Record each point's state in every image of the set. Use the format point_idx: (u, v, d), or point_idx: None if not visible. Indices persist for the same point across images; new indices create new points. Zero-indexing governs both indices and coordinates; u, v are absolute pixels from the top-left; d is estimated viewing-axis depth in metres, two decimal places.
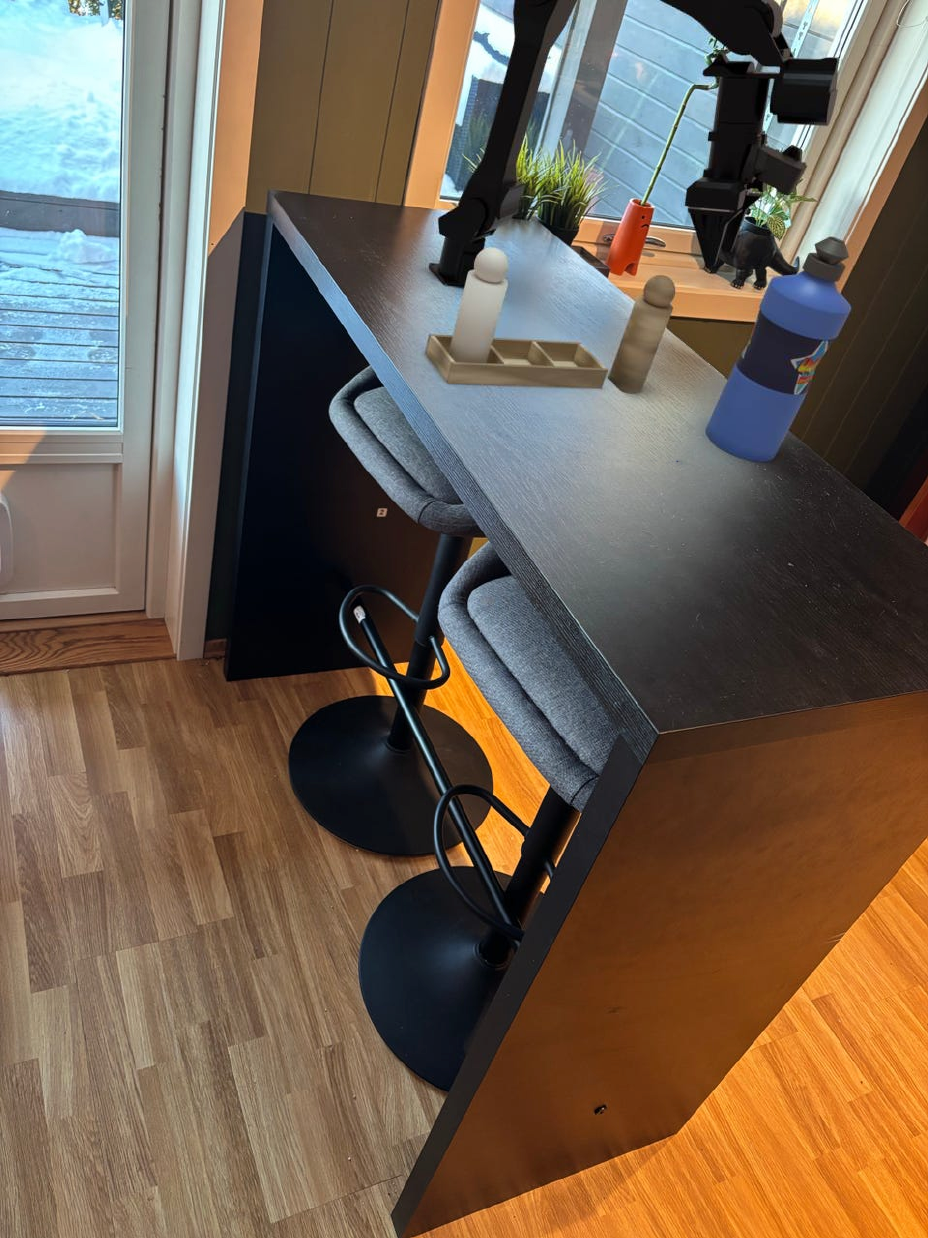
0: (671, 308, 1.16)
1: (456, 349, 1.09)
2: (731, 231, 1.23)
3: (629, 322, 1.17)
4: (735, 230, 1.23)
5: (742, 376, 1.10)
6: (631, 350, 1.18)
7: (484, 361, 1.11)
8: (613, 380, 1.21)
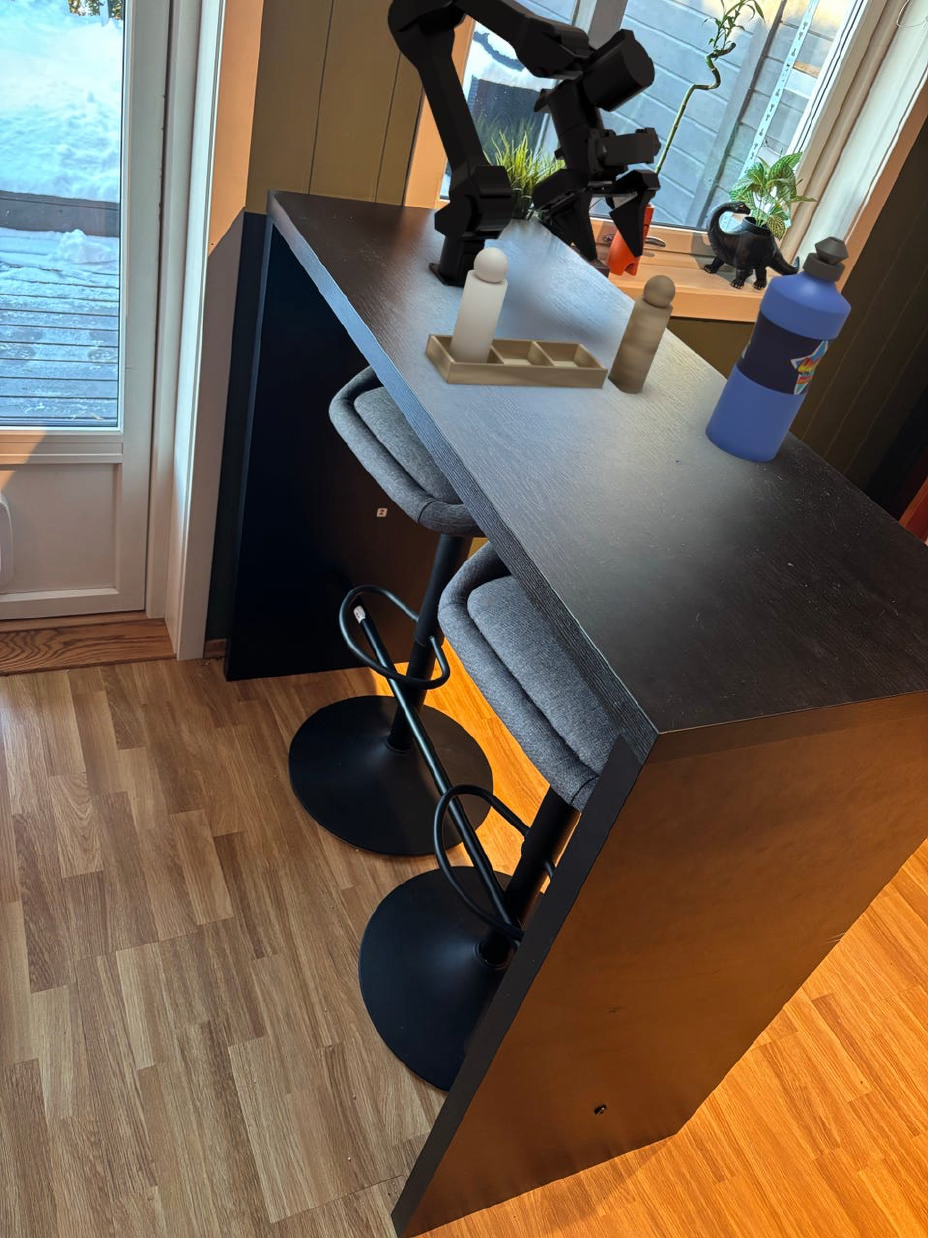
0: (671, 308, 1.16)
1: (456, 349, 1.09)
2: (634, 235, 1.21)
3: (629, 322, 1.17)
4: (637, 232, 1.20)
5: (742, 376, 1.10)
6: (631, 350, 1.18)
7: (484, 361, 1.11)
8: (613, 380, 1.21)
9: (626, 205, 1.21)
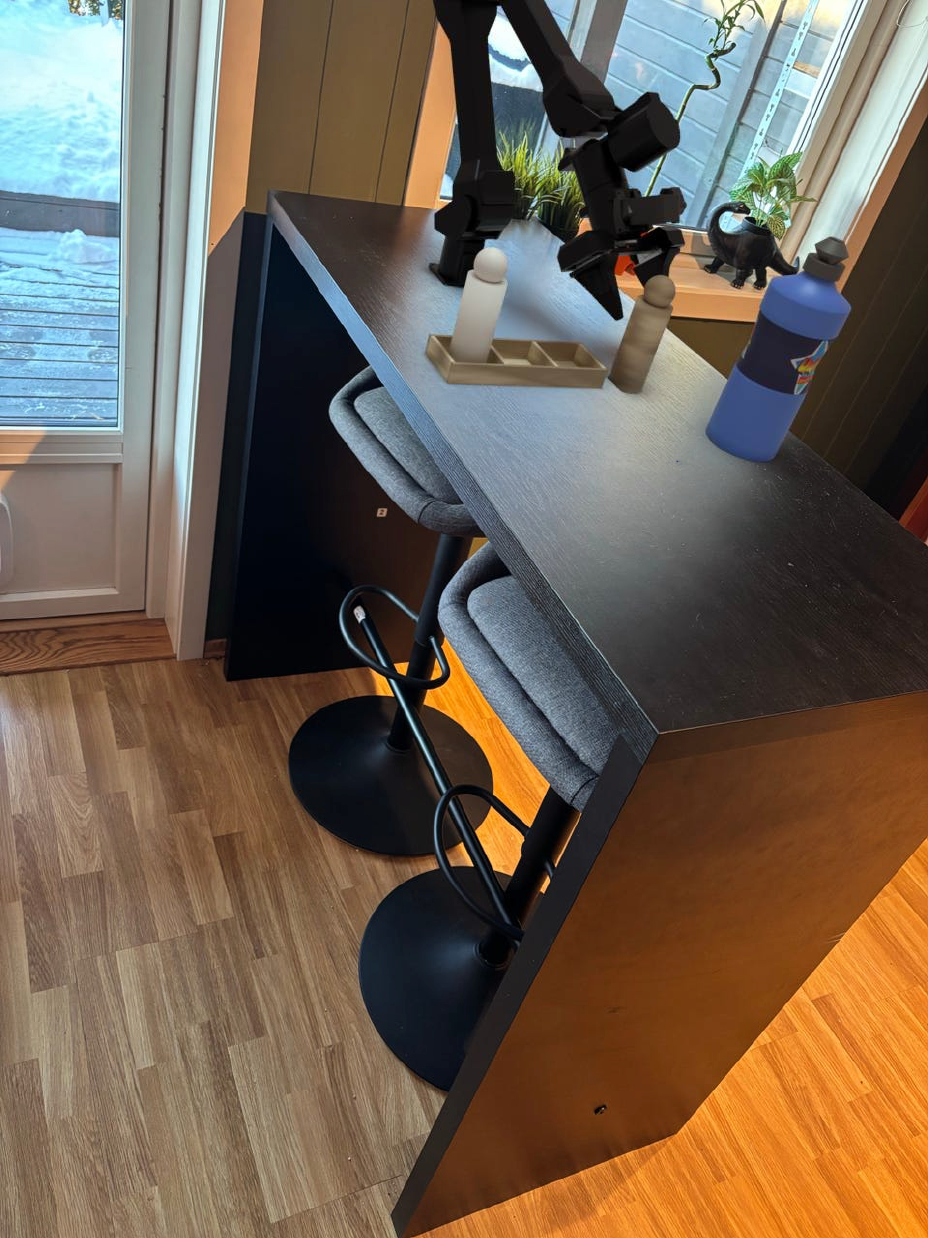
0: (671, 308, 1.16)
1: (456, 349, 1.09)
2: None
3: (629, 322, 1.17)
4: None
5: (742, 376, 1.10)
6: (631, 351, 1.18)
7: (484, 361, 1.11)
8: (613, 380, 1.21)
9: (651, 261, 1.20)
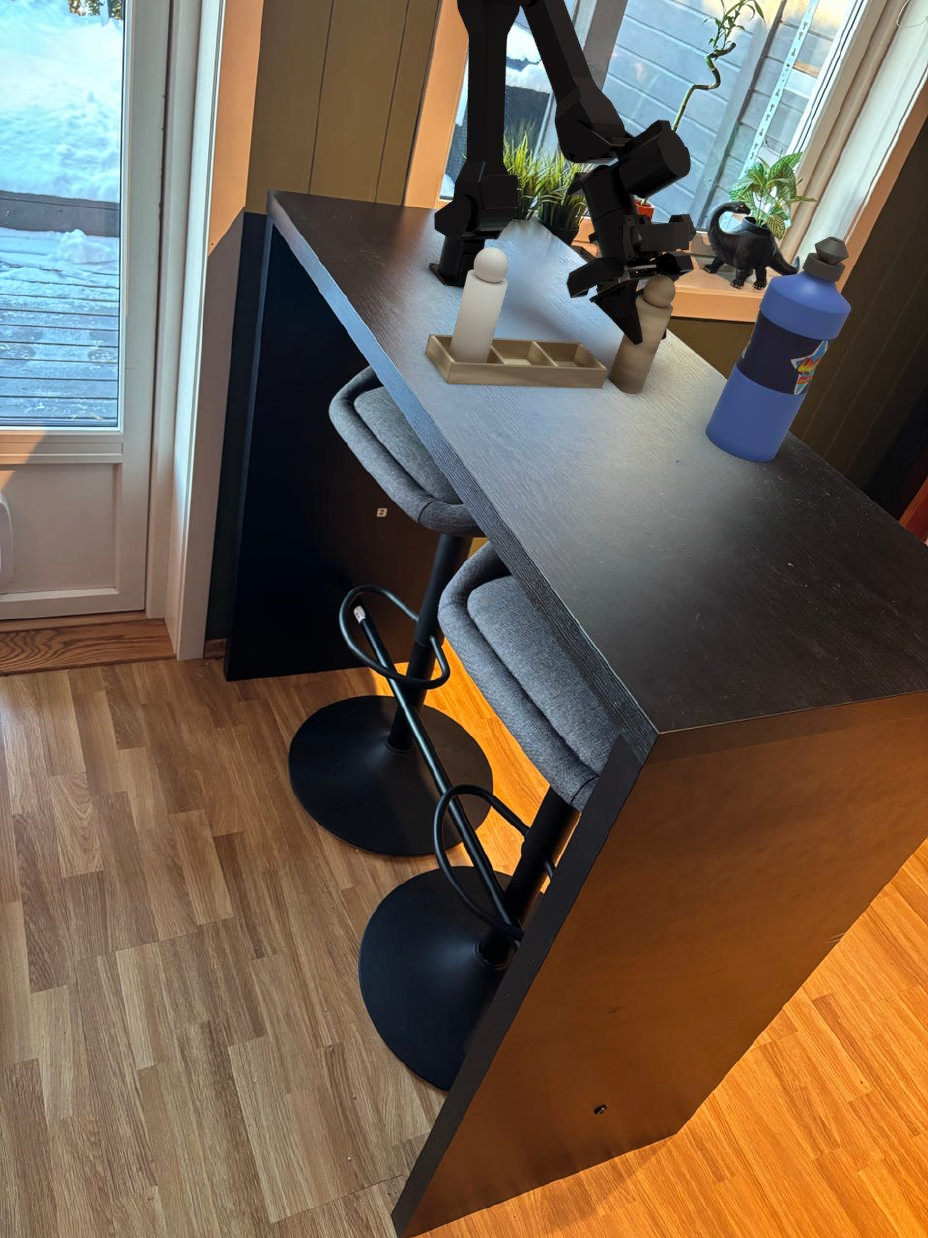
0: (671, 308, 1.16)
1: (456, 349, 1.09)
2: None
3: None
4: None
5: (742, 376, 1.10)
6: (631, 351, 1.18)
7: (484, 361, 1.11)
8: (613, 380, 1.21)
9: None
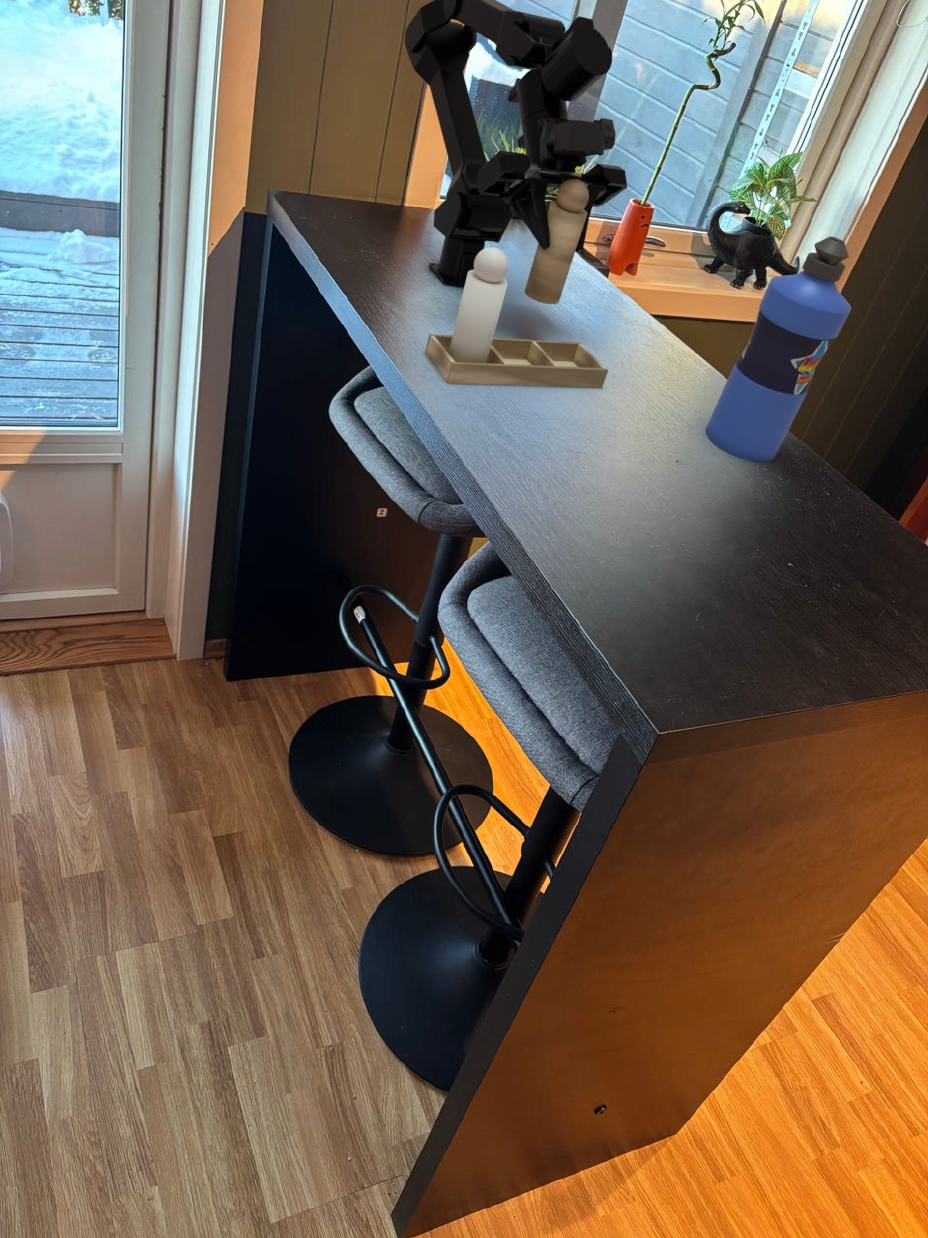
0: (583, 214, 1.13)
1: (456, 349, 1.09)
2: None
3: None
4: None
5: (742, 376, 1.10)
6: (542, 256, 1.16)
7: (484, 361, 1.11)
8: (527, 288, 1.20)
9: None
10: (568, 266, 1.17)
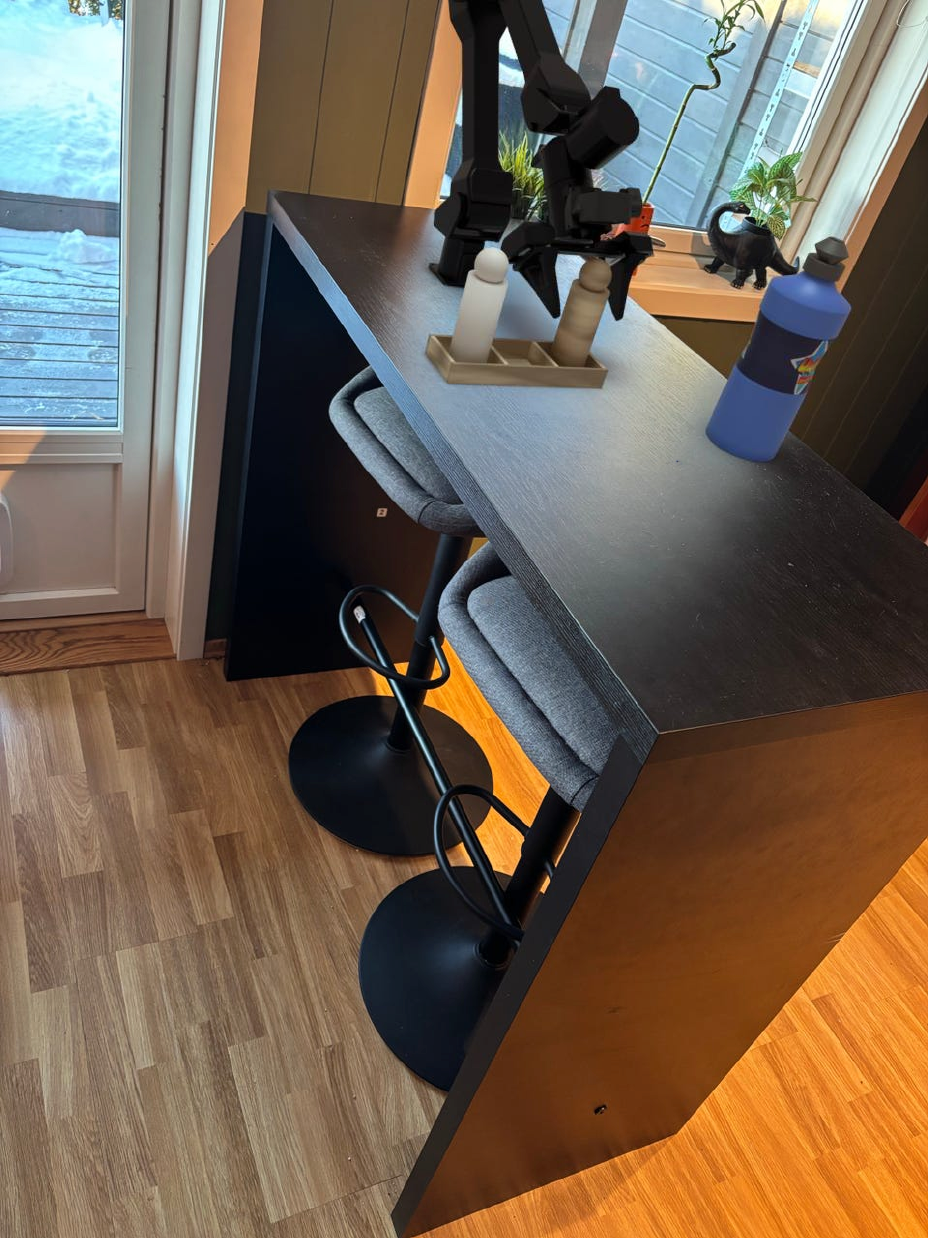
0: (606, 294, 1.11)
1: (456, 349, 1.09)
2: (617, 298, 1.15)
3: None
4: (619, 294, 1.15)
5: (742, 376, 1.10)
6: (563, 334, 1.14)
7: (484, 361, 1.11)
8: None
9: (614, 266, 1.16)
10: (590, 344, 1.15)
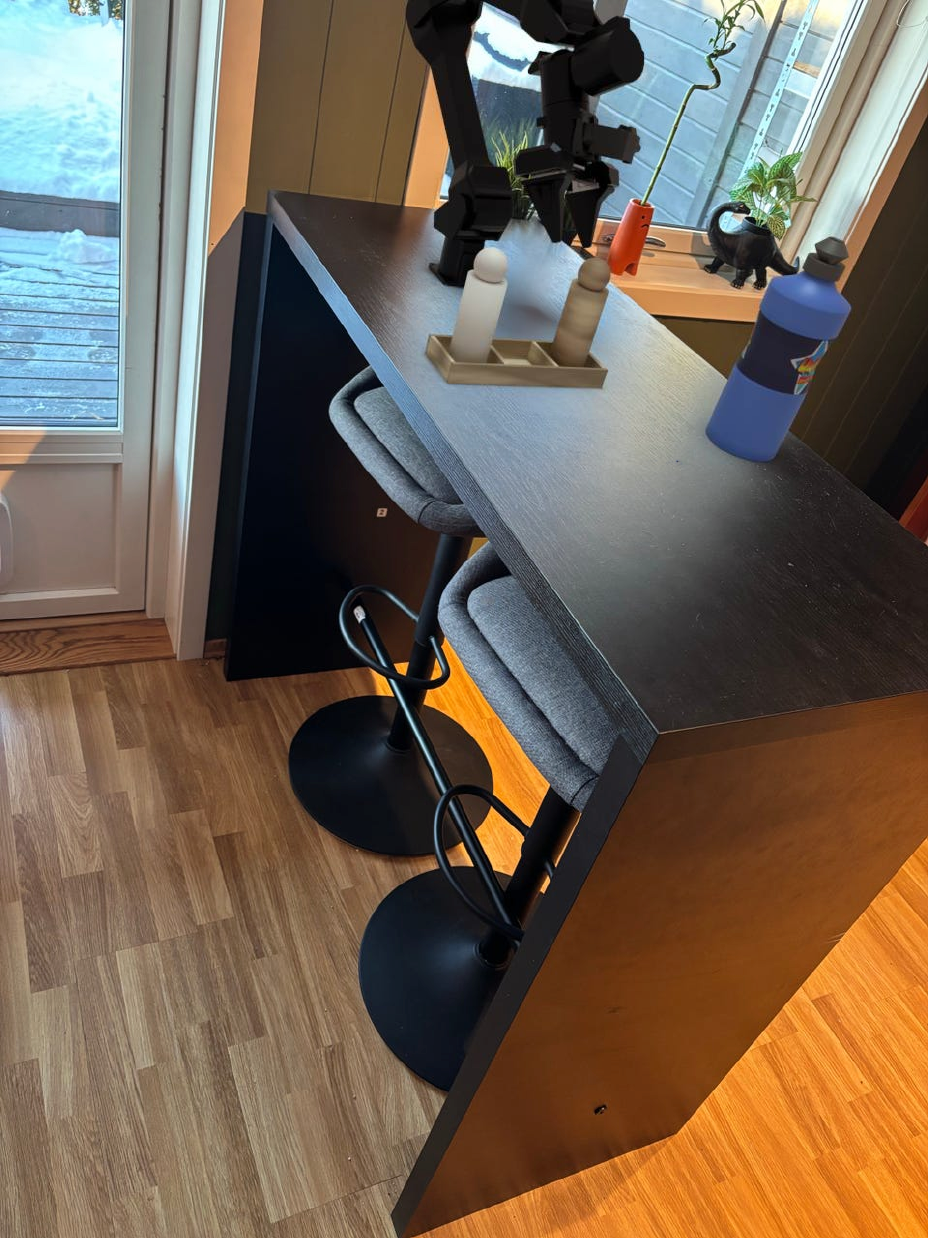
0: (605, 293, 1.11)
1: (456, 349, 1.09)
2: (587, 226, 1.22)
3: (564, 305, 1.14)
4: (591, 223, 1.21)
5: (742, 376, 1.10)
6: (563, 334, 1.14)
7: (484, 361, 1.11)
8: None
9: (586, 193, 1.21)
10: (590, 343, 1.15)
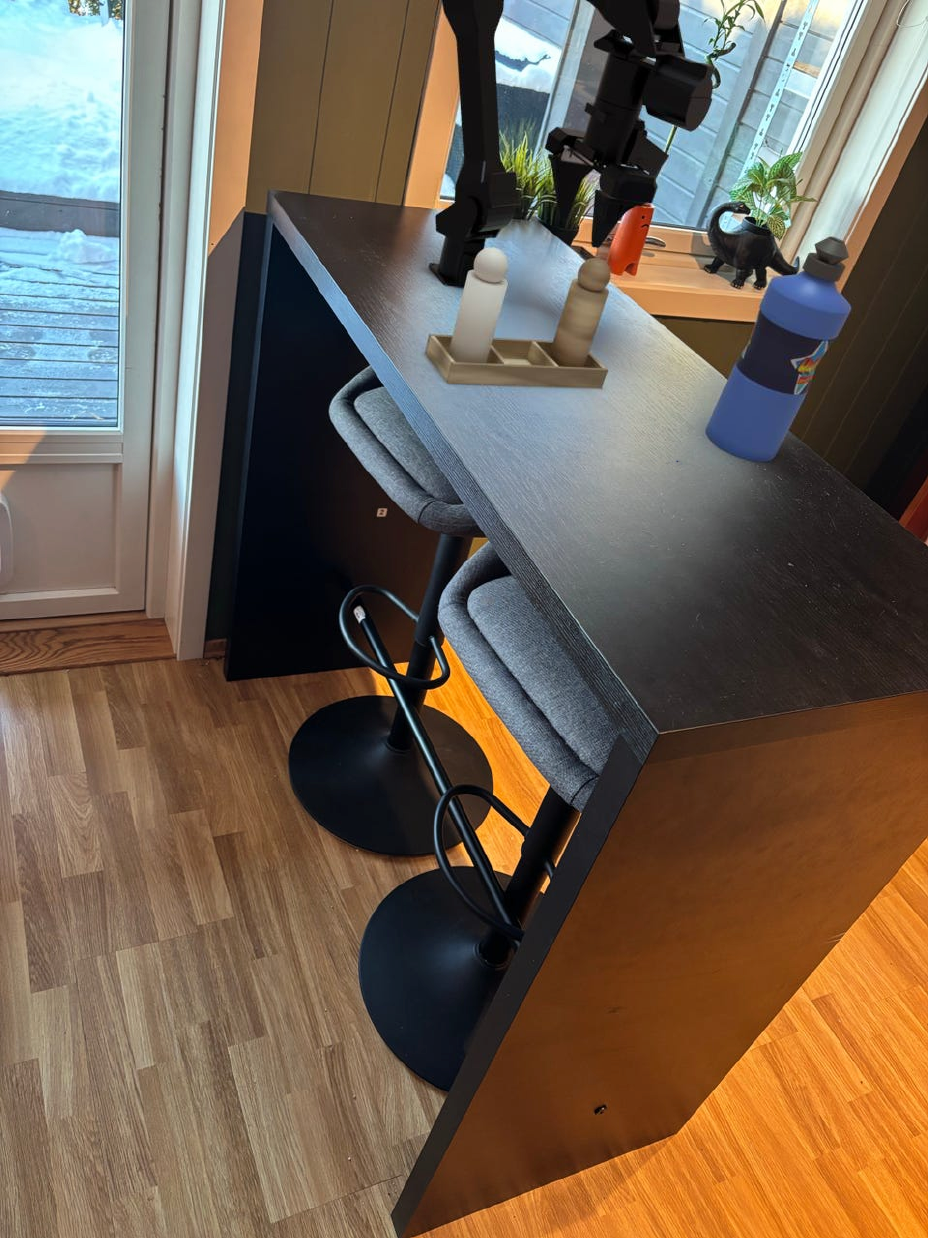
0: (605, 293, 1.11)
1: (456, 349, 1.09)
2: (568, 199, 1.25)
3: (564, 305, 1.14)
4: (573, 198, 1.25)
5: (742, 376, 1.10)
6: (563, 334, 1.14)
7: (484, 361, 1.11)
8: None
9: (575, 167, 1.23)
10: (589, 344, 1.15)
